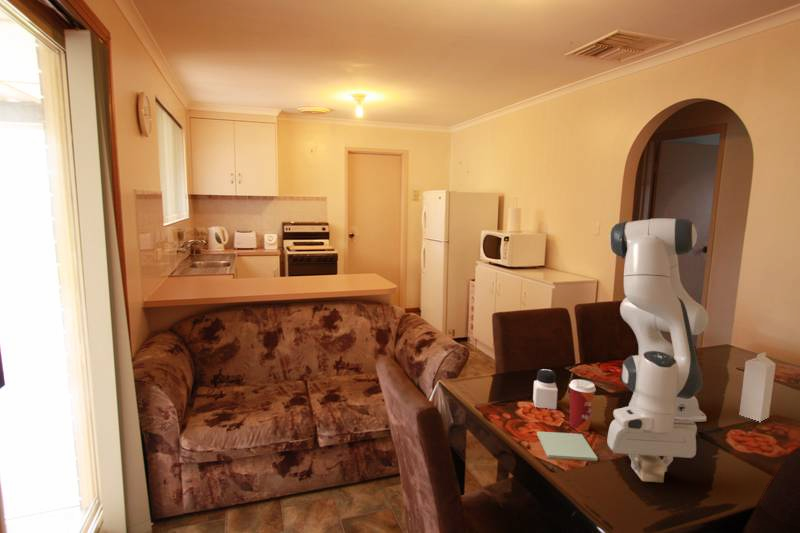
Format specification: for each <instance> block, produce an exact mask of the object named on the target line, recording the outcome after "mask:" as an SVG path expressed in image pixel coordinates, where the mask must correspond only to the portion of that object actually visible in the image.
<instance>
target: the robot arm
mask: <svg viewBox="0 0 800 533" xmlns="http://www.w3.org/2000/svg"><path fill="white" fill-rule="evenodd" d="M697 240H698V233H697V229H696V227H695V225H694V222H693V221H691V219H689V218H683V217H676V218H666V217H665V218H663V217H662V218H659V217H658V218H650V219H641V220H640V219H639V220H633V221H628V222H627V221H623V222H619V223H618V222H617V223H616V224H614V226H613V227H612V228H611V231H610V234H609V239H608V242H609V245H610V247H611V252H613V253H614V254H615V256H618V257H621V259H623V260H624V268H623V292H624V296H625V297H624V299H622V302H621V303H620V307H619V313H620V316H621V318H622V319H623V321H624V322H626V324H627V325H628V326H629V327H630V328H631V330H632V331H633V333H634V335H635V337H636V341H637V344H638V354H636V355H629V356H628V357H627V358H626V359H625V360H624V361H622V364H621V376H620V379H621V383H622V384H623V385H624V386H625V387H626V388H628V389H629V390H630V391H631V392H632V393H633V394H632V396H631V399H630V400H629V402H628V406H624V407H621V408H619V407H618V408H615V409H614V410H613V412H612V414H613V415H612V416H613V417H614V419H613V420H612V421H611V423H610V424H609V427H608V432H607V439H606V440H607V442H606V443H607V446H608V448H609V449H610V450H611V451H612V453H614V454H621V455H623V454H624V455H628V457H629V459H630V460H631V464H630V467H631V468H632V470H633V471H634V470H640V466H641V464H640V463H639V462H638V461H637V460H635V458H637V455H653V456H659V457H663V458H662V460H663V462H664V463H665V472H664V473H666V472H668V467H669V466H670V465H671V463H672V462H673V461H674V458H684V459H685V458H687V459H688V458H689V459H692V458H694V457H695V456H696V453H697V439H696V435H697V431H698V427H697V425H696V423H697V422H698V423H700V422H701V423H702V422H707V415H706V414H705V413H704V412H703V411H702V410H701V409H700V407H699V402H698V399H697V397H696V395H697V394H699V392H700V391H701V390H702V389H703V386H704V385H703V384H704V381H703V375H702V371H701V368H700V365H699V363H698V359H697V355H696V349H695V345H694V344H695V343H694V339H693V336H697V335H699V334H701V333H703V332H704V331H705V330H706V329H707V326H708V324H709V314H708V312H707V310H706V308H705V307H704V306H703V305H702V304H700V303H698V302H697V301H695V299H693V298H692V297H691V296H690V294H689V293H688V292H687V291H686V290H685V288H684V286H683V284H682V281H681V276H680V269H679V268H680V267H679V258H678V257H679V256H682V255H686V254H689V253H690V252H691V251H693V250H694V246H695V245H696V243H697ZM662 331H663V332H668V333H670V337H671V338H670V339H671V342H669V341H668V340H666V339H665V338H664V336H663V335H662V333H661V332H662Z"/></svg>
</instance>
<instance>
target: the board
mask: <svg viewBox="0 0 800 533" xmlns="http://www.w3.org/2000/svg"><path fill="white" fill-rule="evenodd" d="M536 435H537V437H538V439H539V442H540V444H541V446H542V448H543V451H544V452H545V455H546V457H547V458H548V459H559V460H560V459H563V460H576V461H577V460H579V461H580V460H581V461H590V462H591V461H592V462H596V461H597V462H598V460H599V459H598V458H599V457H598V456H597V455H596V453H595V452H594V451H593V449H592V448H591V446H590V444H589V443H588V441H587V440H586V439H585V437H584V435H583V434H582V433H573V432H572V433H571V432H570V433H568V432H556V431H552V432H551V431H536Z"/></svg>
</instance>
